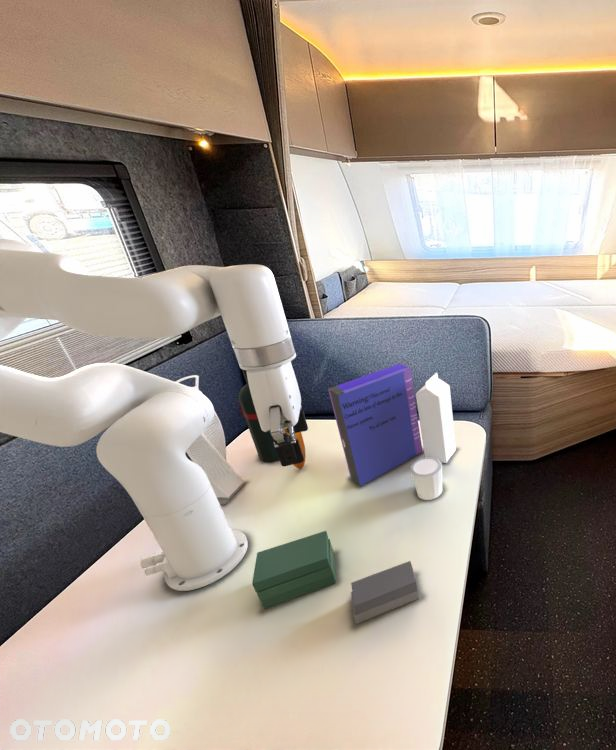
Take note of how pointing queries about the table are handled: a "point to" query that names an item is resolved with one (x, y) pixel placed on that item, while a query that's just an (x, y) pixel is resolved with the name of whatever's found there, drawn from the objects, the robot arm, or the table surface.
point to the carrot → (300, 438)
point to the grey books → (383, 592)
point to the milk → (436, 419)
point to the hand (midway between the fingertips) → (296, 446)
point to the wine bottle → (256, 426)
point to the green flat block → (291, 561)
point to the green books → (299, 584)
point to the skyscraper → (214, 458)
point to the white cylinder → (427, 477)
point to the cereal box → (377, 422)
